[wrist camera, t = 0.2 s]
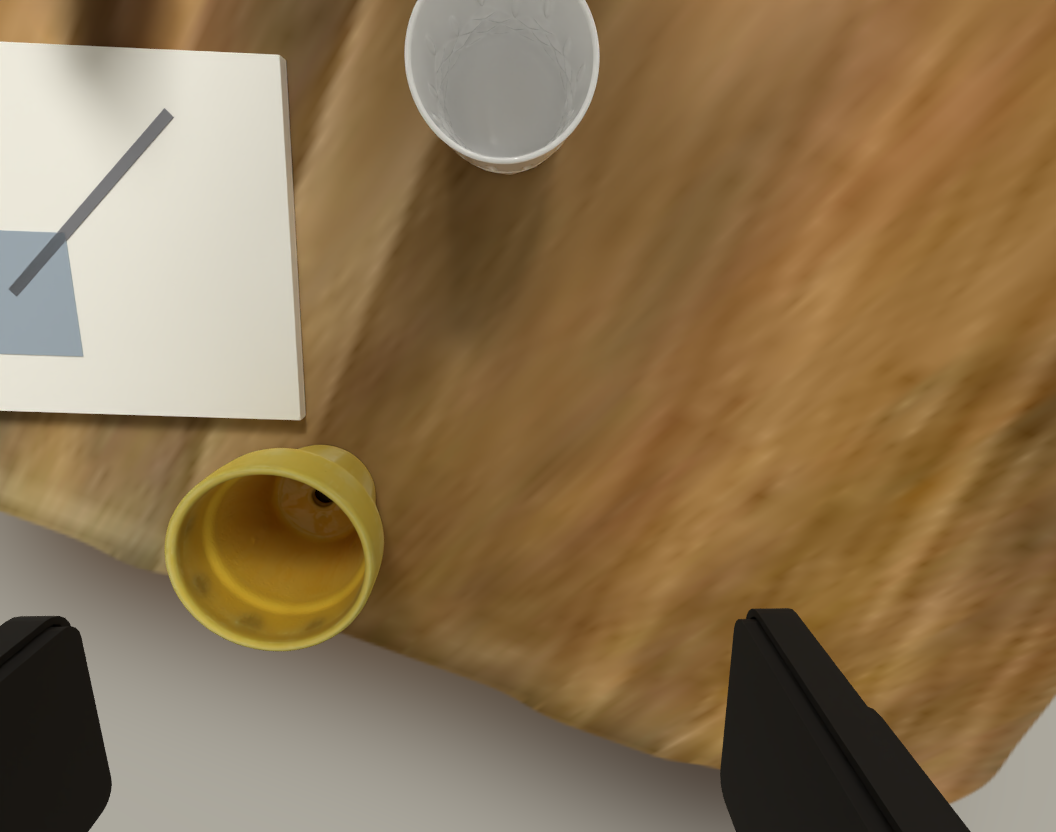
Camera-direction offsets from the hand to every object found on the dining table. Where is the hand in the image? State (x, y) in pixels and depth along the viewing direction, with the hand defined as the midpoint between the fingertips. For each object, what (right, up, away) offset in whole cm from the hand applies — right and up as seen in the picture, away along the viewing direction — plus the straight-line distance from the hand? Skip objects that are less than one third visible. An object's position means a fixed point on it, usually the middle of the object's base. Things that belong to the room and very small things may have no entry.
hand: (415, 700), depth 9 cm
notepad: (-25, +14, +27) cm, 40 cm away
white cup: (0, +21, +26) cm, 34 cm away
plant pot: (-11, -1, +32) cm, 34 cm away
